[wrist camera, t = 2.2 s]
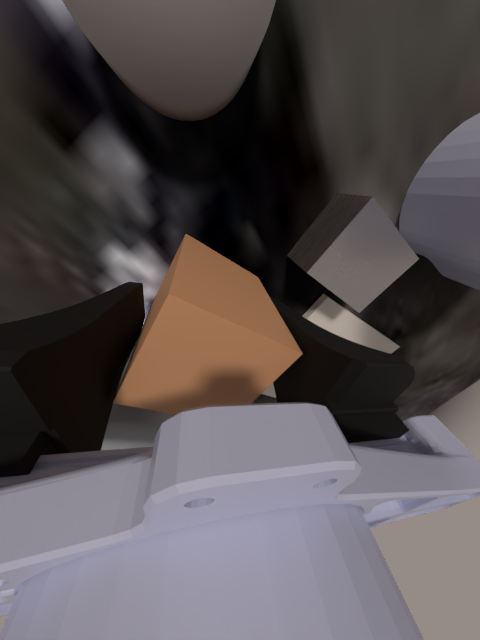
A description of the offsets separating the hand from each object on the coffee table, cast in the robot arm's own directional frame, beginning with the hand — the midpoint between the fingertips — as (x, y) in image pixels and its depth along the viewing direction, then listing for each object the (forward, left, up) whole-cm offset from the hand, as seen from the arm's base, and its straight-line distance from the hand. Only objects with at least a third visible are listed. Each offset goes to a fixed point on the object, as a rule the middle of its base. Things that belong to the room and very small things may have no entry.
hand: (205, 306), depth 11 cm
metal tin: (-6, -7, -2) cm, 9 cm away
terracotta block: (0, 0, -2) cm, 2 cm away
